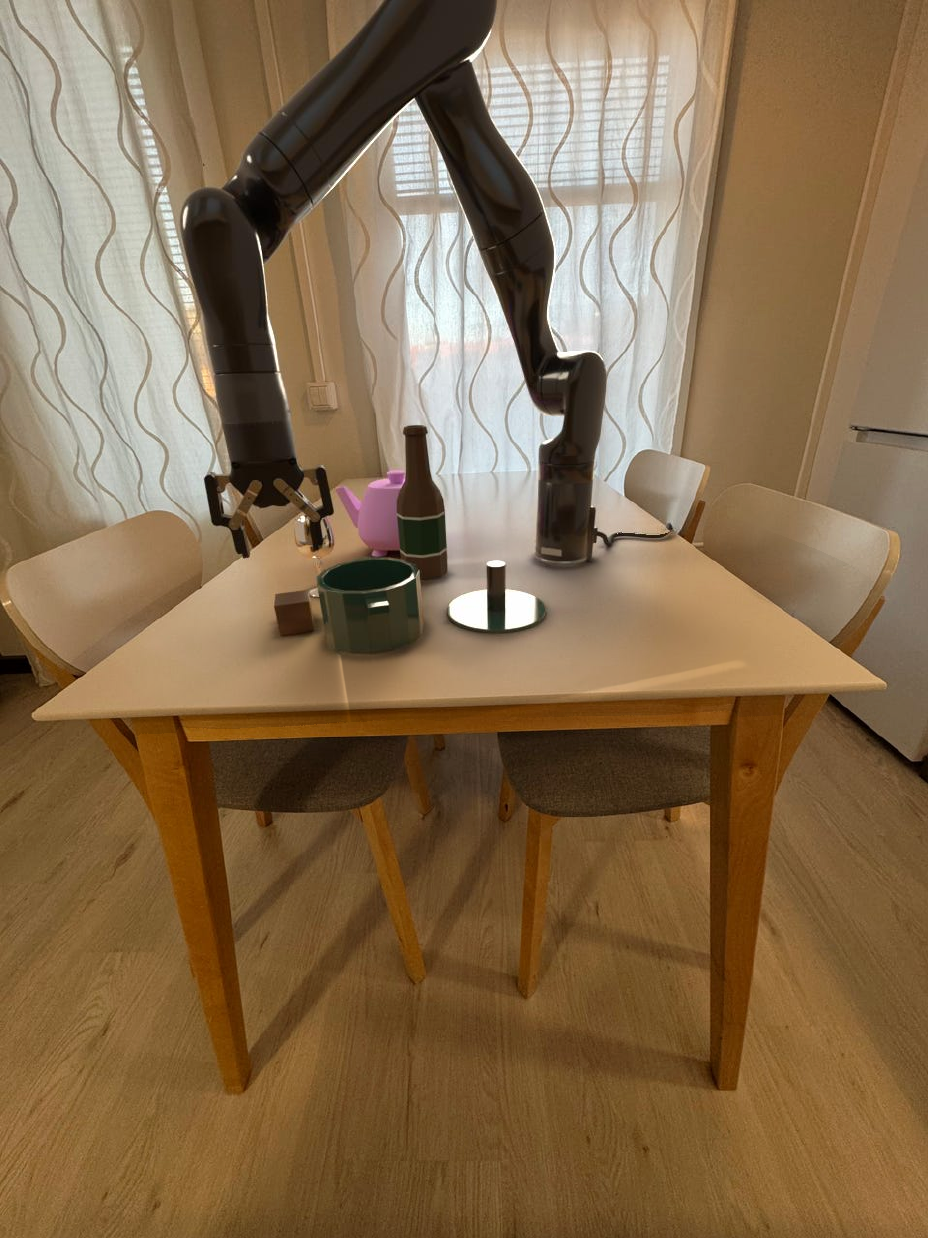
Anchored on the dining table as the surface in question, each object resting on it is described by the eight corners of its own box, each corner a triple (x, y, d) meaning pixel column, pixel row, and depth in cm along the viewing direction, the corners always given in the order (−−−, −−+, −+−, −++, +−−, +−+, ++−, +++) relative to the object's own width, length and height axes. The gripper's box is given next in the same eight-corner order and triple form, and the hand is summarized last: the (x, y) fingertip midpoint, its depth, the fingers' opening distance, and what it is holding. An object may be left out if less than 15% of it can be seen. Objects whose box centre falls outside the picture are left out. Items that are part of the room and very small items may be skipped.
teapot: (363, 532, 112) (354, 462, 105) (451, 532, 109) (448, 461, 102) (329, 561, 94) (317, 479, 88) (434, 562, 91) (428, 478, 85)
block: (313, 617, 72) (308, 589, 70) (314, 631, 68) (308, 601, 66) (281, 622, 70) (275, 593, 69) (280, 636, 67) (273, 606, 65)
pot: (409, 601, 76) (404, 547, 72) (438, 657, 60) (433, 592, 56) (324, 614, 73) (314, 558, 69) (330, 676, 57) (319, 609, 53)
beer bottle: (457, 574, 86) (451, 424, 75) (424, 587, 81) (412, 428, 70) (426, 564, 90) (416, 422, 80) (393, 576, 85) (378, 427, 75)
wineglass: (332, 599, 77) (320, 523, 72) (298, 597, 79) (283, 522, 73) (347, 585, 82) (337, 513, 77) (315, 584, 84) (303, 512, 78)
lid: (522, 590, 78) (523, 543, 75) (562, 627, 66) (565, 573, 63) (437, 603, 75) (434, 554, 71) (463, 644, 63) (461, 588, 60)
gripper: (181, 422, 52) (218, 568, 59) (321, 416, 56) (340, 554, 63) (194, 418, 59) (226, 550, 66) (318, 413, 62) (336, 539, 69)
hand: (282, 552), depth 64 cm, fingers open, 8 cm apart
